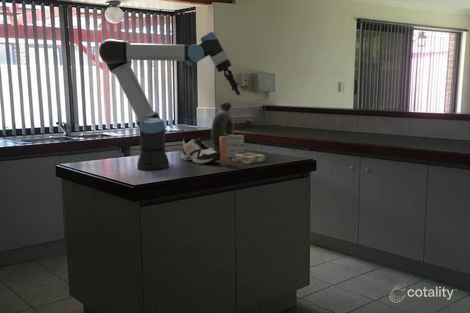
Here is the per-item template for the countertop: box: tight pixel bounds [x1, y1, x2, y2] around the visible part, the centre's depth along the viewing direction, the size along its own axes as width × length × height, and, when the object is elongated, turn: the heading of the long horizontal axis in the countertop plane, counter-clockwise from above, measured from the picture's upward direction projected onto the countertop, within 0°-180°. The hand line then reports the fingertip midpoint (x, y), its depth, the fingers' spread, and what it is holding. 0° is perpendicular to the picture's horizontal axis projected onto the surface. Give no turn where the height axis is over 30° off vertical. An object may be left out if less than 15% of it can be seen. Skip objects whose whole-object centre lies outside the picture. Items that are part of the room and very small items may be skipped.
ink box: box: [228, 134, 245, 158], centre depth 261 cm, size 9×5×12 cm, turn 84°
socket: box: [231, 152, 266, 164], centre depth 247 cm, size 12×12×3 cm
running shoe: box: [180, 137, 220, 165], centre depth 246 cm, size 11×30×12 cm, turn 41°
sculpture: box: [210, 100, 235, 153], centre depth 271 cm, size 11×14×30 cm
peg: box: [219, 136, 229, 166], centre depth 235 cm, size 4×4×14 cm
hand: (242, 99), depth 244 cm, fingers open, 13 cm apart
